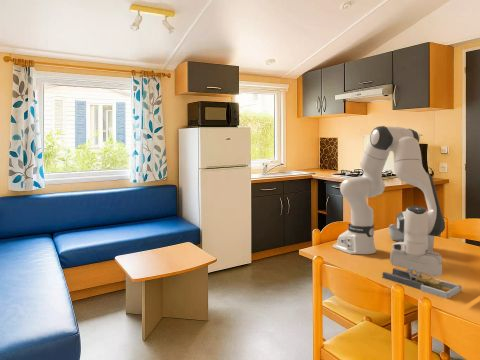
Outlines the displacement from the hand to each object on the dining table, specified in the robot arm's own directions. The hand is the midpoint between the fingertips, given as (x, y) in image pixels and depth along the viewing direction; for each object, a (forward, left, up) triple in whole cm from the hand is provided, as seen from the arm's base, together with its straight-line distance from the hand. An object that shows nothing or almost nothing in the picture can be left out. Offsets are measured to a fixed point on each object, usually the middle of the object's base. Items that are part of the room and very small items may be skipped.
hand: (414, 281), depth 156 cm
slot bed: (-3, 0, -2) cm, 4 cm away
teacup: (-42, +57, -2) cm, 71 cm away
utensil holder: (-24, +47, -2) cm, 53 cm away
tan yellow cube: (+4, 0, -1) cm, 4 cm away
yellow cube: (+8, 0, -1) cm, 8 cm away
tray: (+10, 0, -2) cm, 10 cm away
